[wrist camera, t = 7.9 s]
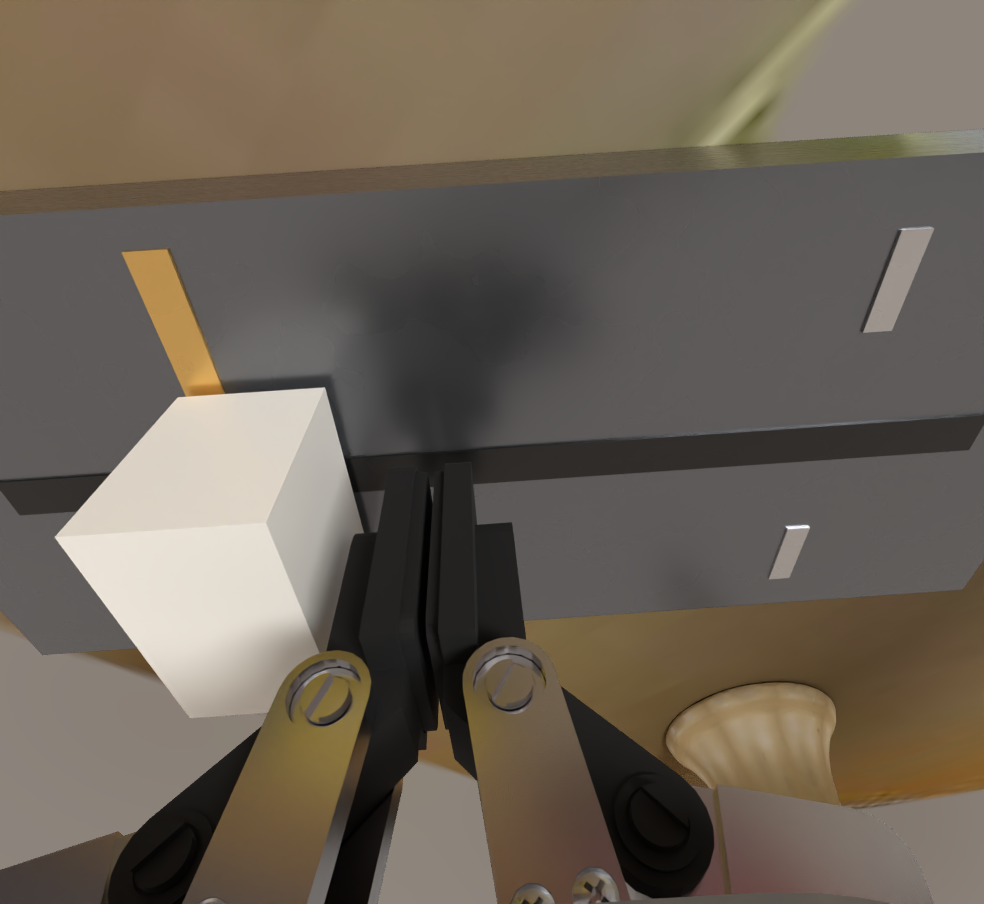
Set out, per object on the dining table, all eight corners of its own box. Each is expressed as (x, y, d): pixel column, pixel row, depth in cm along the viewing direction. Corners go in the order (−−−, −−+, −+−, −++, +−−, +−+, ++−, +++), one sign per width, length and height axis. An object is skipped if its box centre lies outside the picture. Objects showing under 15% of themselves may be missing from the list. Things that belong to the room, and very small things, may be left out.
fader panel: (1114, 120, 12) (1293, 132, 9) (896, 521, 19) (963, 591, 16) (-175, 202, 11) (-353, 238, 9) (98, 577, 18) (41, 657, 16)
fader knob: (325, 387, 11) (266, 522, 8) (370, 557, 14) (341, 707, 10) (177, 397, 11) (54, 537, 7) (254, 565, 14) (189, 718, 10)
